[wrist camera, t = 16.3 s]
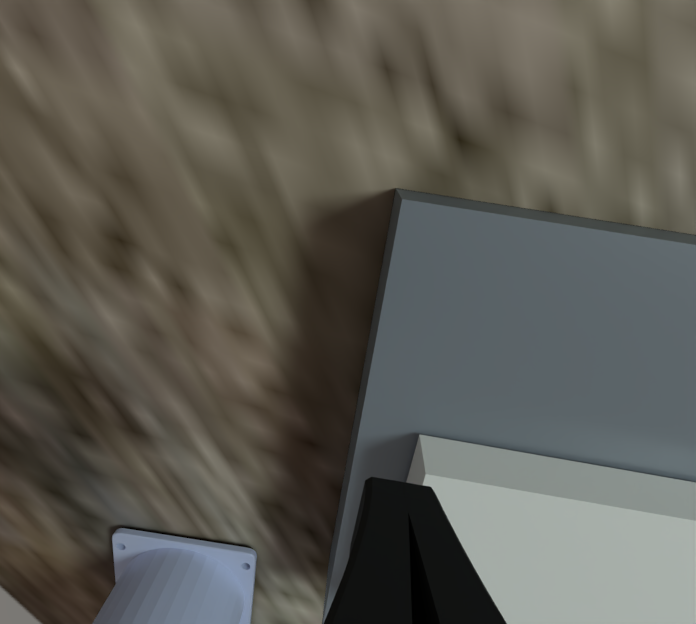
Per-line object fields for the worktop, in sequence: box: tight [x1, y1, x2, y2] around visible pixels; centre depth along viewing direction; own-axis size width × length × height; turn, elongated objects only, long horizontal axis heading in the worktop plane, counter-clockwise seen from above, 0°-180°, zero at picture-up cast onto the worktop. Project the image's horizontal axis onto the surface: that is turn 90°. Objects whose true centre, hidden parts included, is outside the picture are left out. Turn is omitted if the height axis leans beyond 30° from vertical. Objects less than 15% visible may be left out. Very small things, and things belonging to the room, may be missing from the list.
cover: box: [406, 434, 696, 624], centre depth 16 cm, size 8×14×2 cm, turn 80°
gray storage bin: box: [322, 188, 696, 624], centre depth 18 cm, size 20×16×4 cm
